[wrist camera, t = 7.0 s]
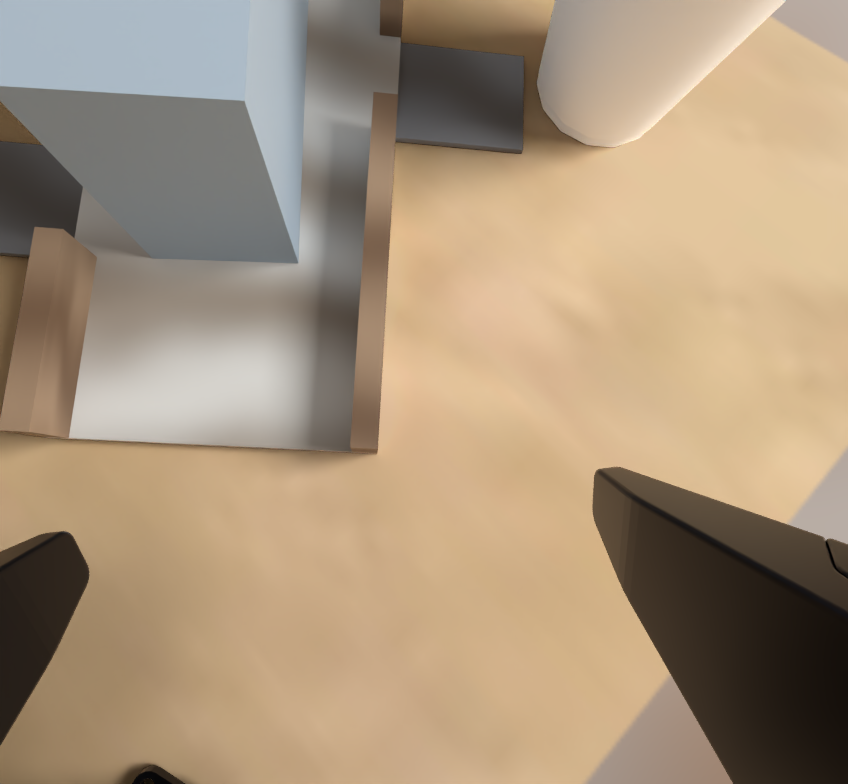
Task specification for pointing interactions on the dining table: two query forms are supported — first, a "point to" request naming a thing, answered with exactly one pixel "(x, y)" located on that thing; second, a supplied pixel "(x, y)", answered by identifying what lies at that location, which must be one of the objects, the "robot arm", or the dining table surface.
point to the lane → (245, 266)
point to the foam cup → (634, 60)
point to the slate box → (170, 115)
